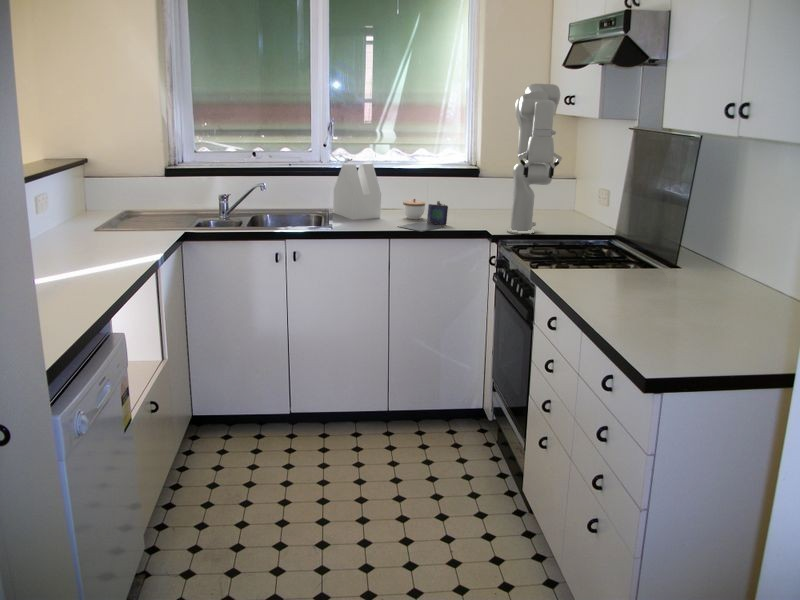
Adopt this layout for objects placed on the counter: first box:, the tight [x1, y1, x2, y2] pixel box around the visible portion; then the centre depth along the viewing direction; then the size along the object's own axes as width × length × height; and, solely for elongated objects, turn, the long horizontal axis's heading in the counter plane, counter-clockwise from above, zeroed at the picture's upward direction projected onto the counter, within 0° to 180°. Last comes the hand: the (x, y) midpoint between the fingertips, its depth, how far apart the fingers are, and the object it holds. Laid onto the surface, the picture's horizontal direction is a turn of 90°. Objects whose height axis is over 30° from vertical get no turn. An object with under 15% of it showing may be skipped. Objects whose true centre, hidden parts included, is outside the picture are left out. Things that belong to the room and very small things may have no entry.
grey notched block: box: [332, 162, 382, 221], centre depth 393 cm, size 19×15×25 cm
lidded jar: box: [402, 198, 426, 220], centre depth 394 cm, size 11×11×9 cm
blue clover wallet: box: [426, 200, 449, 226], centre depth 381 cm, size 9×3×11 cm, turn 84°
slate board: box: [397, 221, 445, 233], centre depth 374 cm, size 17×14×1 cm
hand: (538, 177), depth 323 cm, fingers open, 9 cm apart
